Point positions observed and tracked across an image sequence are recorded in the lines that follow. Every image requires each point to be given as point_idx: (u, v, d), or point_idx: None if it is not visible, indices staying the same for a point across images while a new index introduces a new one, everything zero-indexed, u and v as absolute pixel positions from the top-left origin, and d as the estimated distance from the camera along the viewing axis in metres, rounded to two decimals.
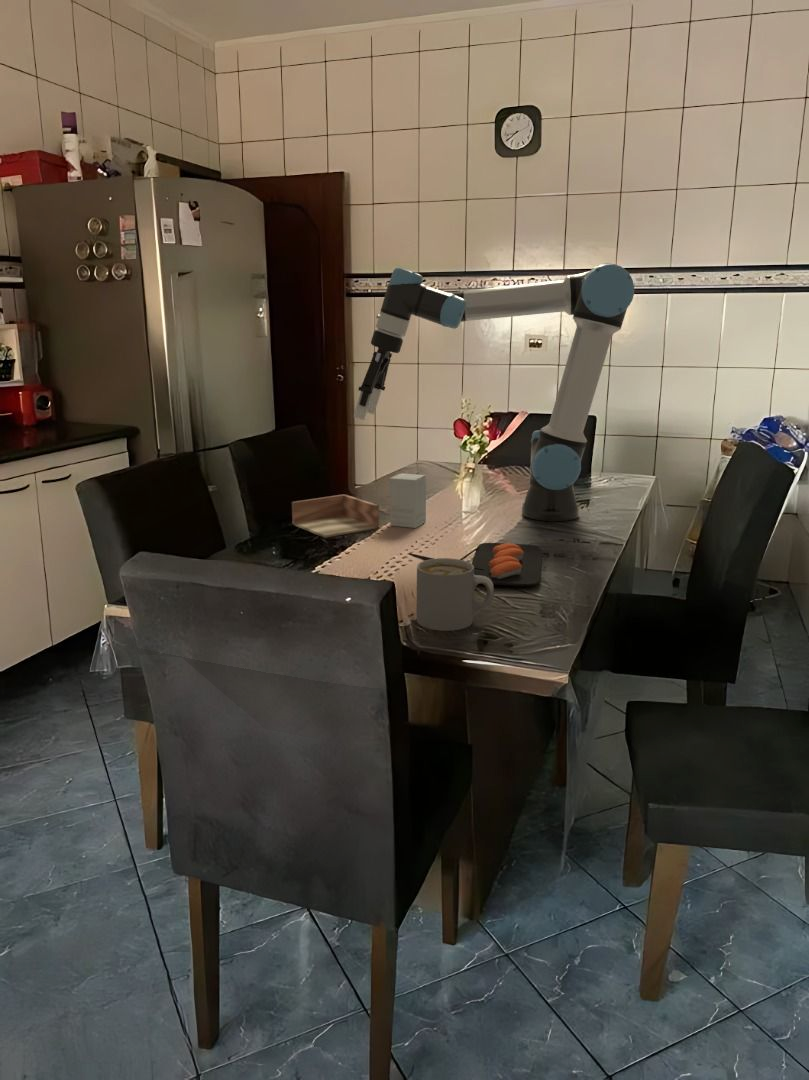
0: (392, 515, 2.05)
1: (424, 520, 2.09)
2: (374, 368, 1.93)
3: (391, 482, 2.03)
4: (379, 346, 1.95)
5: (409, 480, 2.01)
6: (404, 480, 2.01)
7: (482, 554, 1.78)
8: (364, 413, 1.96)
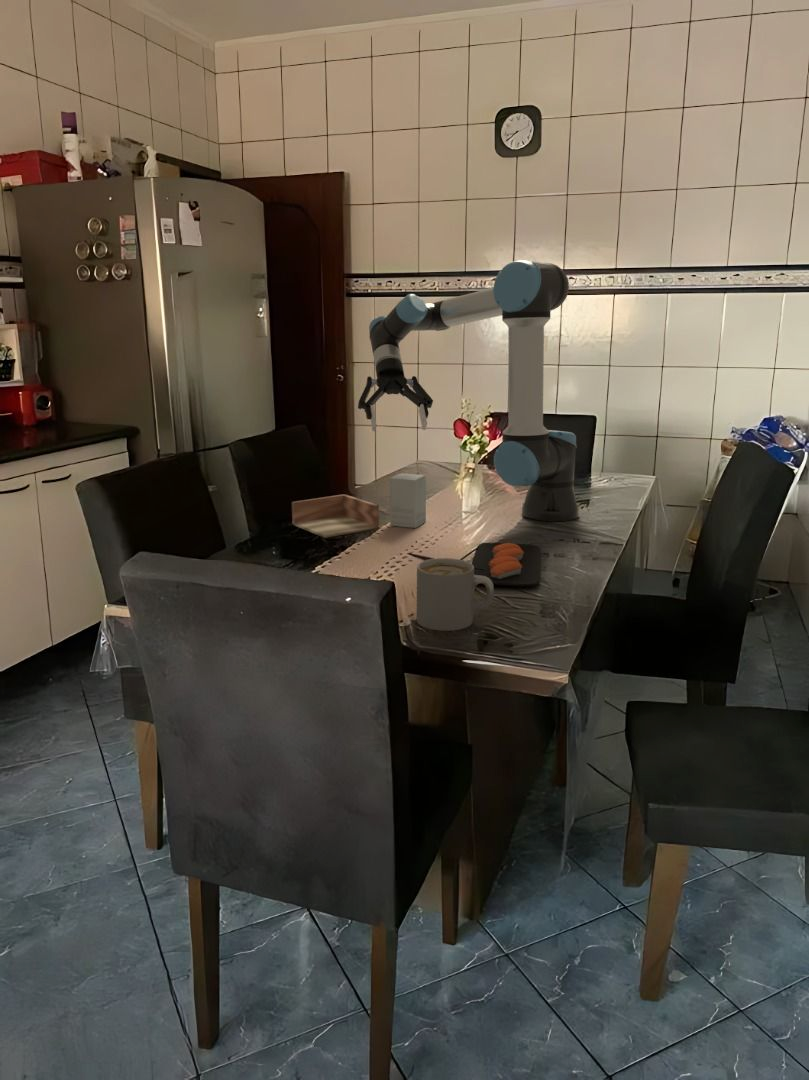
0: (392, 515, 2.05)
1: (424, 520, 2.09)
2: (365, 389, 2.15)
3: (391, 482, 2.03)
4: None
5: (409, 480, 2.01)
6: (404, 480, 2.01)
7: (482, 554, 1.78)
8: (372, 420, 2.09)
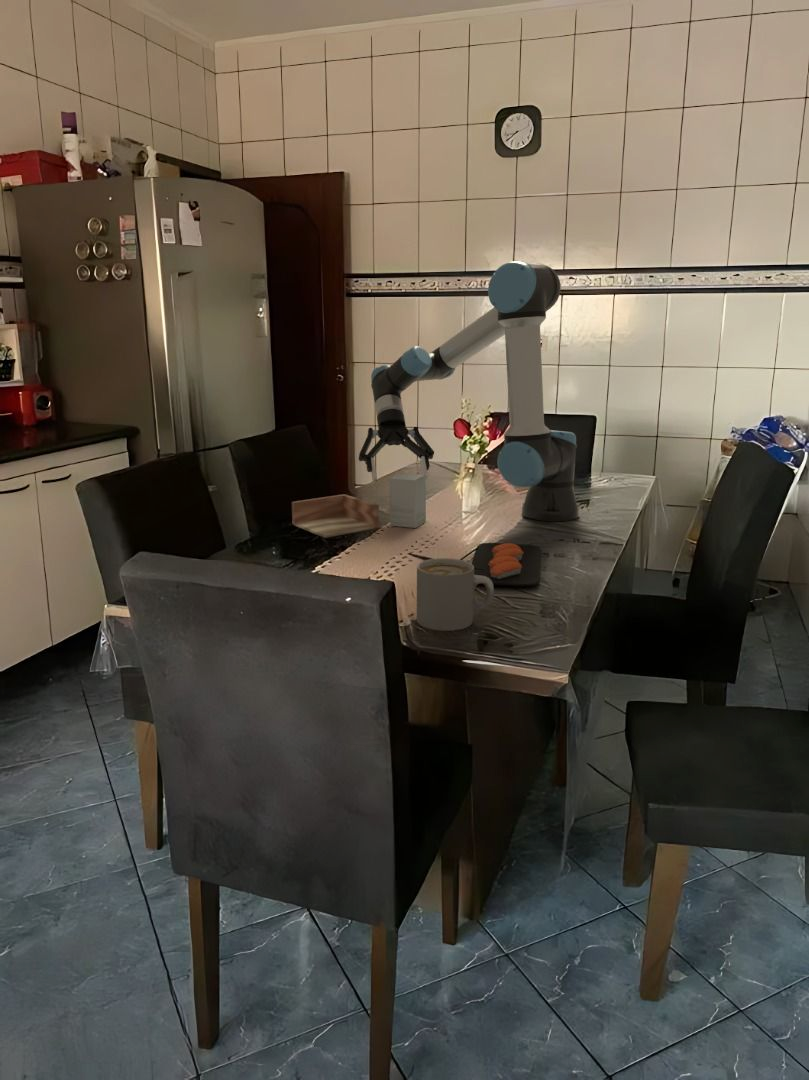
0: (392, 515, 2.05)
1: (424, 520, 2.09)
2: None
3: (391, 482, 2.03)
4: (378, 428, 2.19)
5: (409, 480, 2.01)
6: (404, 480, 2.01)
7: (482, 554, 1.78)
8: (373, 473, 2.09)
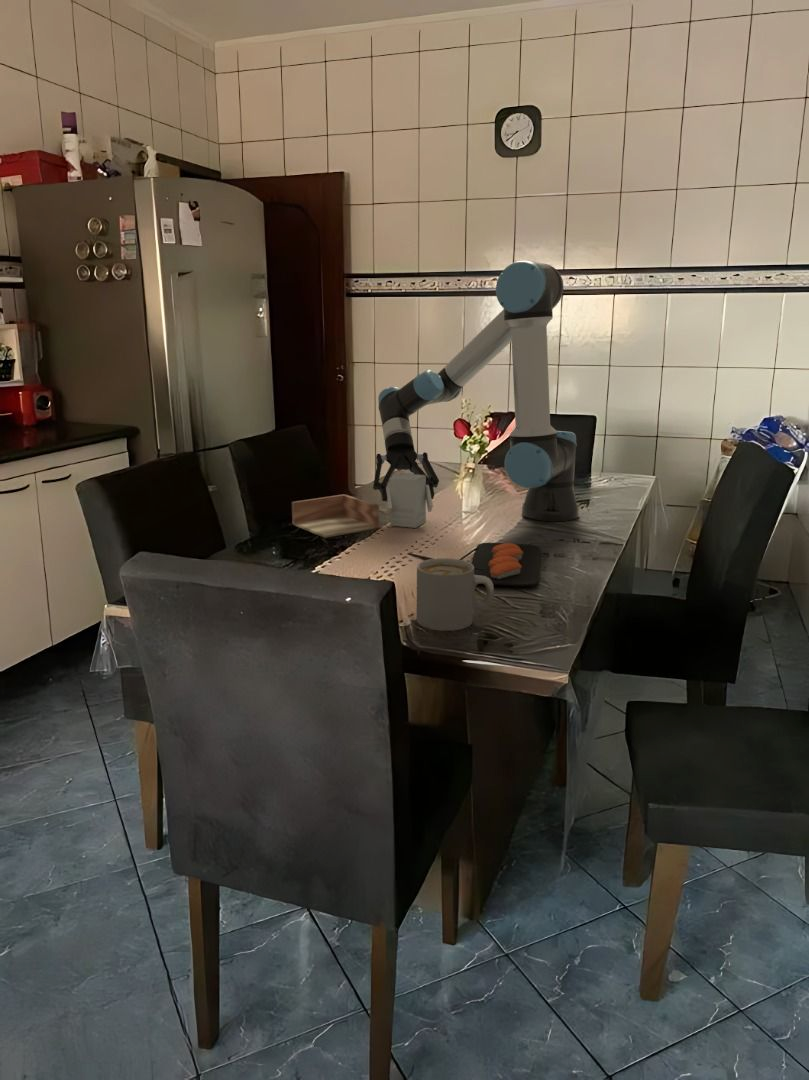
0: (392, 515, 2.05)
1: (425, 520, 2.09)
2: None
3: (391, 482, 2.03)
4: (386, 452, 2.13)
5: (409, 480, 2.01)
6: (404, 480, 2.01)
7: (482, 554, 1.79)
8: (388, 503, 2.03)
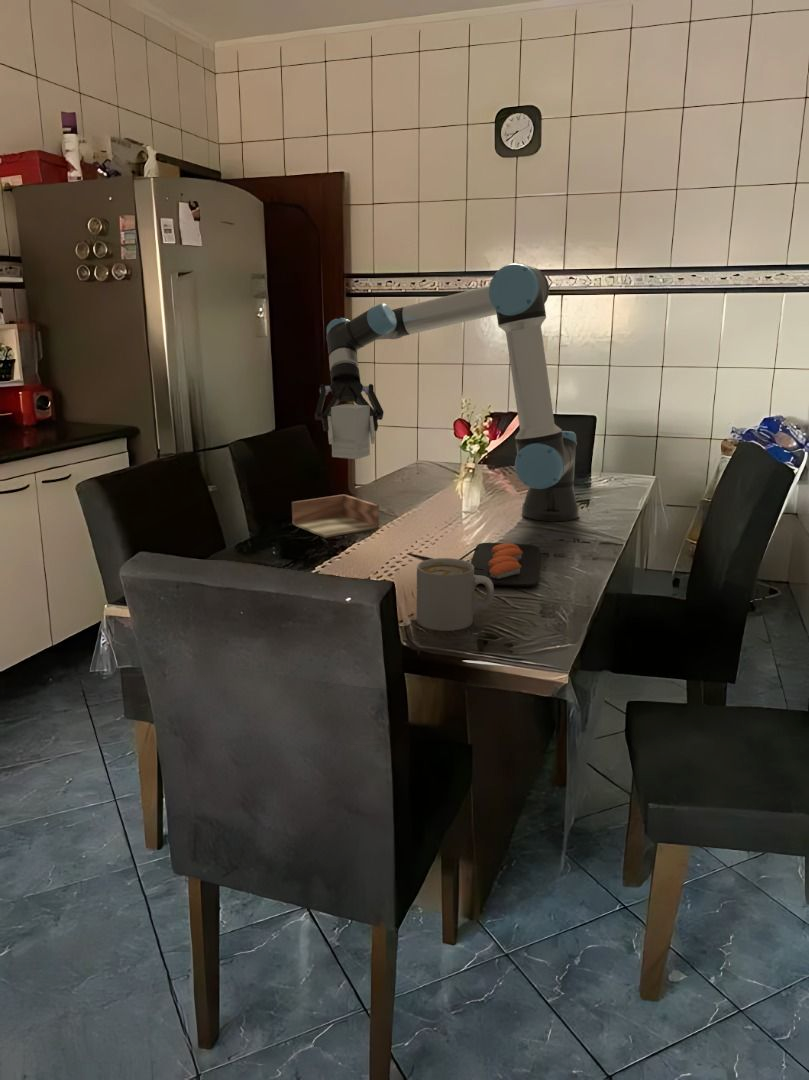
0: (334, 446, 1.99)
1: (368, 453, 2.03)
2: None
3: (333, 411, 1.97)
4: None
5: (350, 409, 1.95)
6: (345, 409, 1.95)
7: (481, 554, 1.79)
8: (329, 432, 1.96)
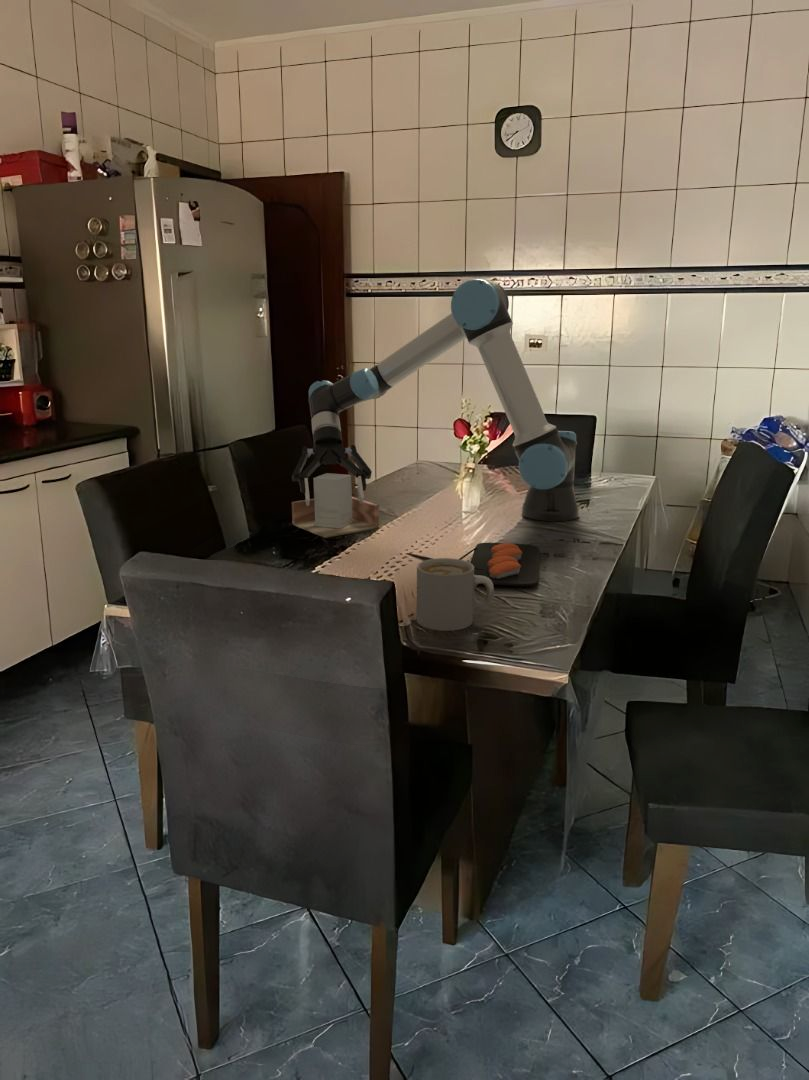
0: (317, 516, 2.02)
1: (351, 520, 2.05)
2: None
3: (315, 482, 1.99)
4: None
5: (333, 480, 1.97)
6: (328, 480, 1.98)
7: (481, 554, 1.79)
8: (306, 495, 1.99)
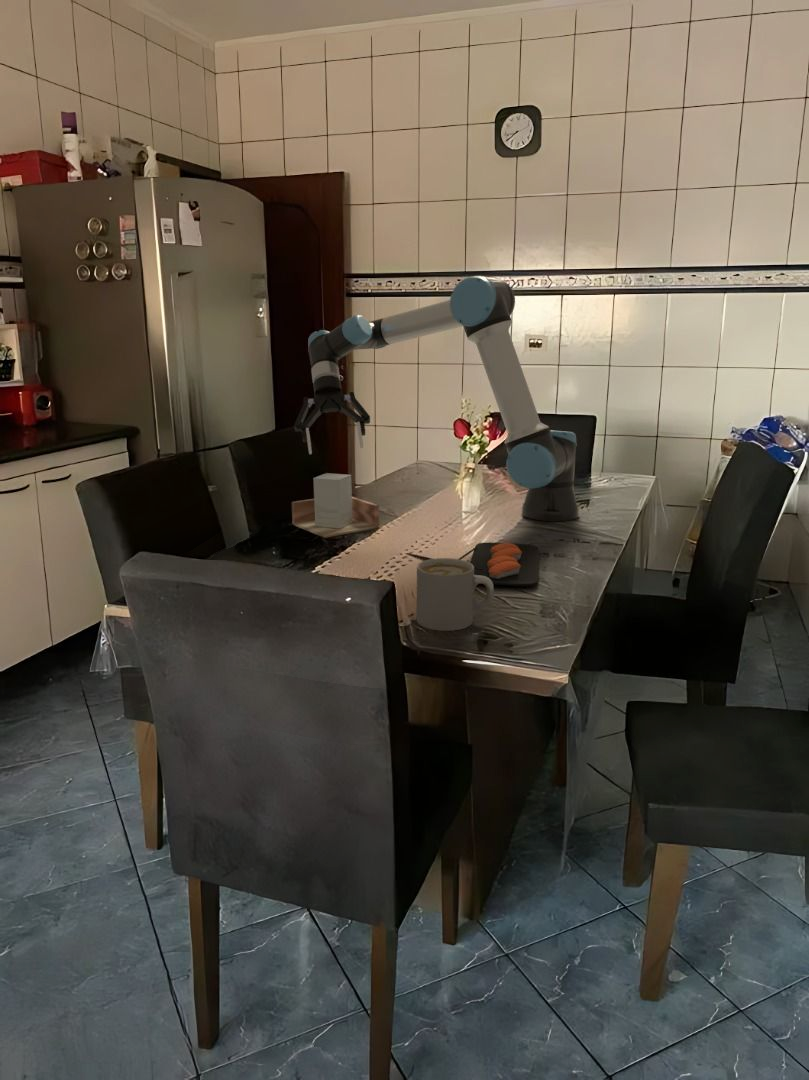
0: (317, 516, 2.02)
1: (351, 520, 2.05)
2: None
3: (315, 482, 1.99)
4: None
5: (333, 480, 1.97)
6: (328, 480, 1.98)
7: (480, 554, 1.79)
8: None
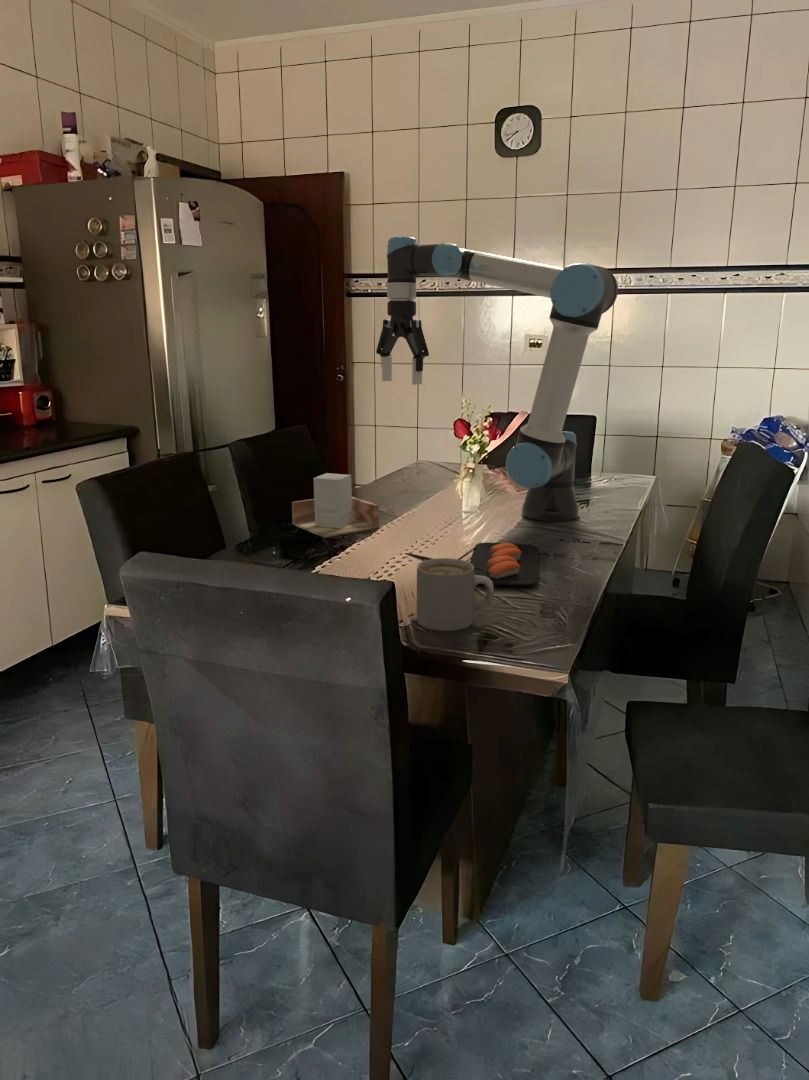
0: (317, 516, 2.02)
1: (351, 520, 2.05)
2: None
3: (315, 482, 1.99)
4: None
5: (333, 480, 1.97)
6: (328, 480, 1.98)
7: (480, 554, 1.79)
8: None
